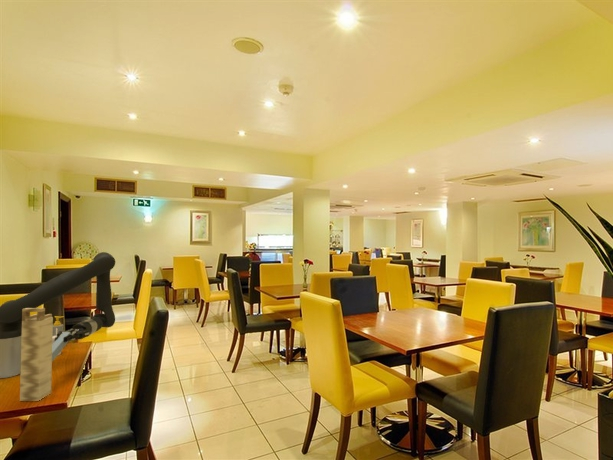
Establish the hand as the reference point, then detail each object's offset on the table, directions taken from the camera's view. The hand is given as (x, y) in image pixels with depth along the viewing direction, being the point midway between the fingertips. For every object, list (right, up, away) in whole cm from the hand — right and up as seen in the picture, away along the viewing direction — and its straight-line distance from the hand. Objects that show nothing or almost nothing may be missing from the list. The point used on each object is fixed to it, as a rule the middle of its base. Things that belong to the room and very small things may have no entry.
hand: (60, 340), depth 145 cm
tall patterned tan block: (0, -18, -13) cm, 23 cm away
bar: (0, -4, -1) cm, 4 cm away
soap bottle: (-35, -20, +46) cm, 61 cm away
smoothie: (-27, -20, +35) cm, 49 cm away
